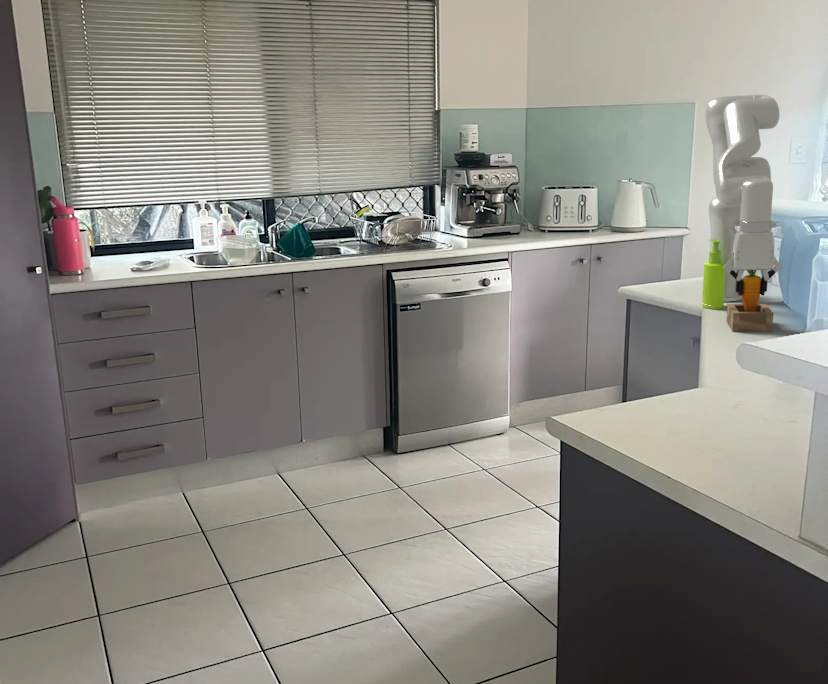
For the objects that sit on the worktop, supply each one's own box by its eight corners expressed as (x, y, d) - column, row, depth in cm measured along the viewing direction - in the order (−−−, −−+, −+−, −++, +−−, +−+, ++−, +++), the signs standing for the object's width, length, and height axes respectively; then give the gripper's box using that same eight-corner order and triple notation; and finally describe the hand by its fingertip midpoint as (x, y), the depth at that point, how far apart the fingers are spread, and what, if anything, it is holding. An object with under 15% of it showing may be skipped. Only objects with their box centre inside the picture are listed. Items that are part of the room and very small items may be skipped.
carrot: (760, 319, 224) (764, 264, 219) (741, 319, 225) (744, 264, 220) (757, 314, 228) (760, 260, 224) (738, 314, 229) (741, 260, 225)
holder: (726, 321, 233) (727, 304, 232) (764, 321, 231) (765, 303, 230) (732, 331, 224) (733, 313, 222) (772, 331, 222) (773, 313, 220)
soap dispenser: (719, 303, 252) (722, 237, 246) (725, 308, 246) (729, 241, 240) (699, 303, 253) (702, 238, 247) (704, 309, 246) (707, 242, 241)
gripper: (786, 224, 221) (781, 291, 226) (718, 225, 225) (715, 291, 230) (792, 228, 214) (787, 297, 219) (723, 230, 218) (719, 298, 223)
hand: (750, 293), depth 225 cm, fingers closed on carrot, 5 cm apart
